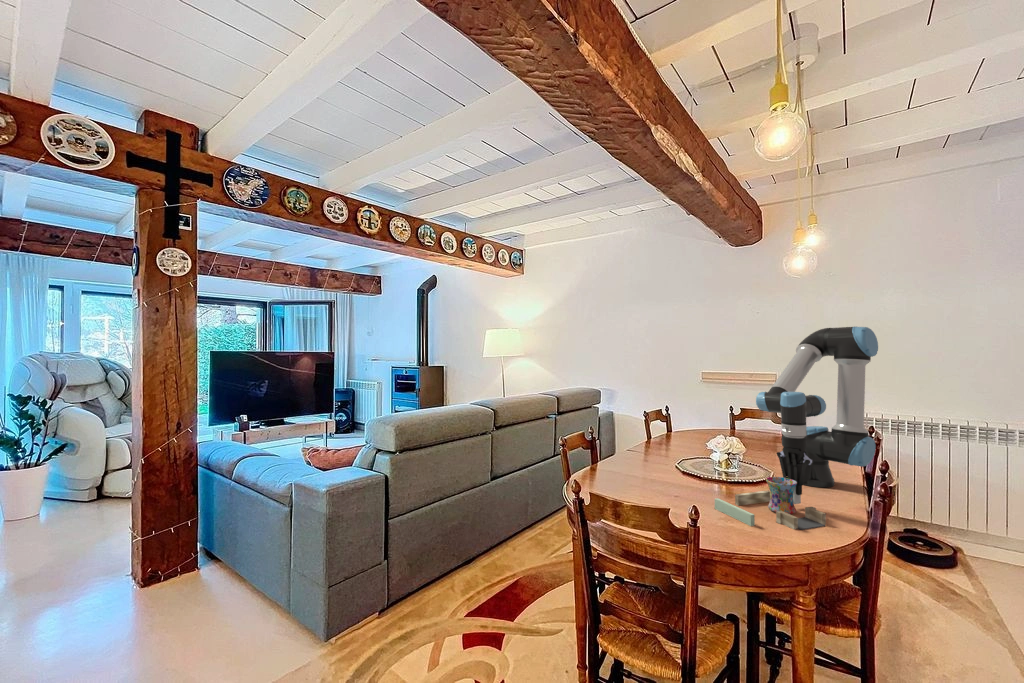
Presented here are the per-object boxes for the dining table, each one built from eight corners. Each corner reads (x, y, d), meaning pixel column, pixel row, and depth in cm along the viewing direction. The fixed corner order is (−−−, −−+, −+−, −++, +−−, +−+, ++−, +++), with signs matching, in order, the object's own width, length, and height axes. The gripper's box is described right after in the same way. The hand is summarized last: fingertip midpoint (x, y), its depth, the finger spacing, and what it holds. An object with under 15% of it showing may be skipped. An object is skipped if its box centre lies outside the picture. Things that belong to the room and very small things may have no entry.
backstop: (718, 508, 156) (718, 498, 156) (754, 525, 141) (754, 514, 141) (714, 508, 156) (714, 498, 156) (750, 526, 140) (750, 515, 140)
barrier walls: (768, 499, 164) (768, 490, 164) (829, 523, 142) (829, 512, 142) (735, 504, 160) (735, 494, 160) (792, 529, 137) (792, 518, 137)
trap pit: (805, 518, 146) (805, 517, 146) (825, 526, 140) (825, 525, 140) (781, 521, 144) (781, 520, 144) (800, 530, 137) (800, 529, 137)
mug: (794, 518, 146) (793, 486, 146) (763, 511, 152) (762, 480, 153) (802, 508, 155) (801, 478, 155) (772, 502, 161) (771, 473, 161)
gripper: (770, 433, 161) (771, 498, 161) (802, 440, 148) (804, 510, 148) (786, 431, 163) (788, 495, 163) (819, 438, 150) (821, 508, 150)
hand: (795, 502), depth 155 cm, fingers closed
